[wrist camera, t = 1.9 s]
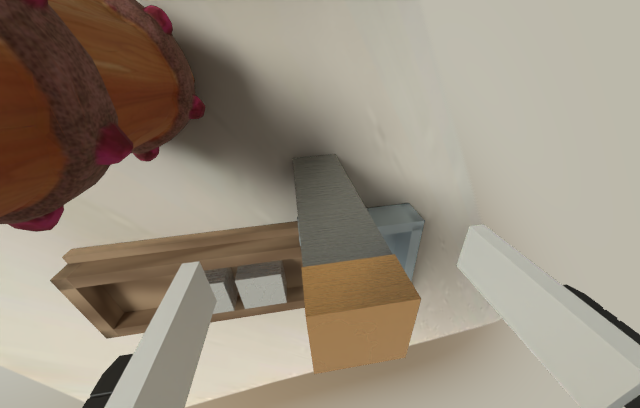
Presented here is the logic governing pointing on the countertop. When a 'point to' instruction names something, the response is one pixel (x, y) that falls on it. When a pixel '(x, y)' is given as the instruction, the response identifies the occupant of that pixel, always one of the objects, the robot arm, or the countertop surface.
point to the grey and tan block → (348, 273)
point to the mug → (83, 98)
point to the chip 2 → (262, 284)
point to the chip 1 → (223, 289)
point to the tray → (399, 232)
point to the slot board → (172, 273)
